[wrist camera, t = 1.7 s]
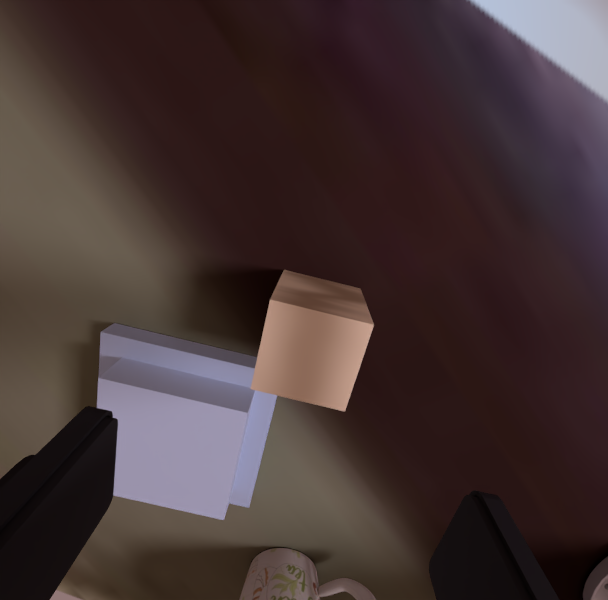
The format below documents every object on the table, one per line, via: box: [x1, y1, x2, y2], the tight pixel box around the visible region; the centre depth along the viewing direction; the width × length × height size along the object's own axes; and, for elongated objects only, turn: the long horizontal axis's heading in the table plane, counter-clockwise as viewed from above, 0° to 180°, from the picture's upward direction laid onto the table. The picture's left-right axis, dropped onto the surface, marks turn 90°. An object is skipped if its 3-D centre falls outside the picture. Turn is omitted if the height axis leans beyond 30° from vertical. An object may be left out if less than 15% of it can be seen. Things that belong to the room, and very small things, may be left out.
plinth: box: [97, 323, 277, 520], centre depth 23 cm, size 12×12×4 cm
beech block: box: [251, 270, 374, 411], centre depth 19 cm, size 5×5×6 cm
